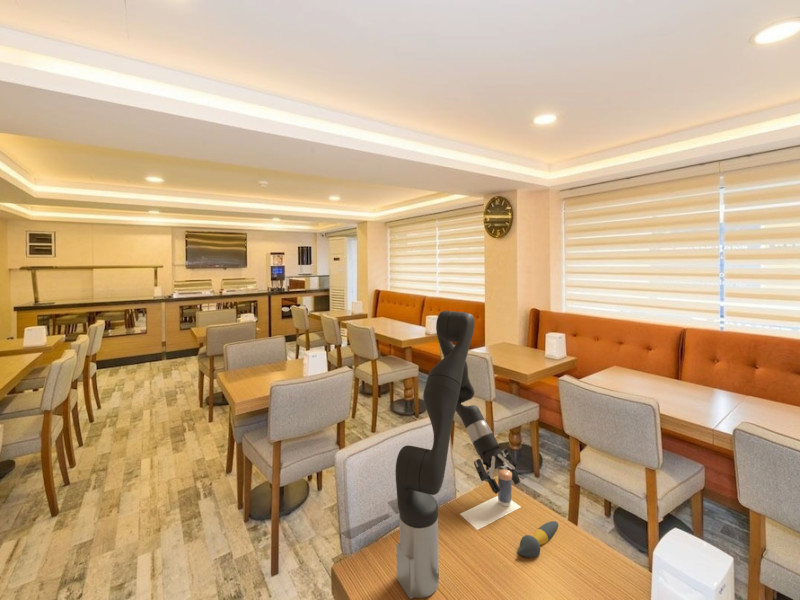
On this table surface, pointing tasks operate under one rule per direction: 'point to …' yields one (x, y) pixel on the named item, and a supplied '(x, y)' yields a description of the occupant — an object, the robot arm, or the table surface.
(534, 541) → the paintbrush
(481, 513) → the whiteboard
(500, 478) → the peach capped blue cylinder
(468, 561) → the table surface
